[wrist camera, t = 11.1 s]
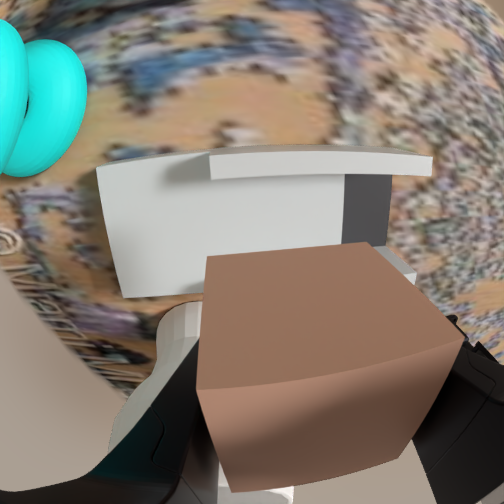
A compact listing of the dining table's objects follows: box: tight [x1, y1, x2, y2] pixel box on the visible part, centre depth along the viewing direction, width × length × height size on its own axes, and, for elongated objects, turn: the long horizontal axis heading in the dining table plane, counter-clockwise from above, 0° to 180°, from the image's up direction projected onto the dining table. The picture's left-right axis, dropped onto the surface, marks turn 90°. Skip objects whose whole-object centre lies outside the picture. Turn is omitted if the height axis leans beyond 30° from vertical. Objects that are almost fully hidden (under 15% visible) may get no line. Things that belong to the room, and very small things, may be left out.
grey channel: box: [96, 145, 433, 298], centre depth 18 cm, size 9×20×5 cm, turn 93°
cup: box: [108, 301, 294, 504], centre depth 17 cm, size 11×11×15 cm
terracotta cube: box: [196, 242, 465, 493], centre depth 8 cm, size 5×5×5 cm
